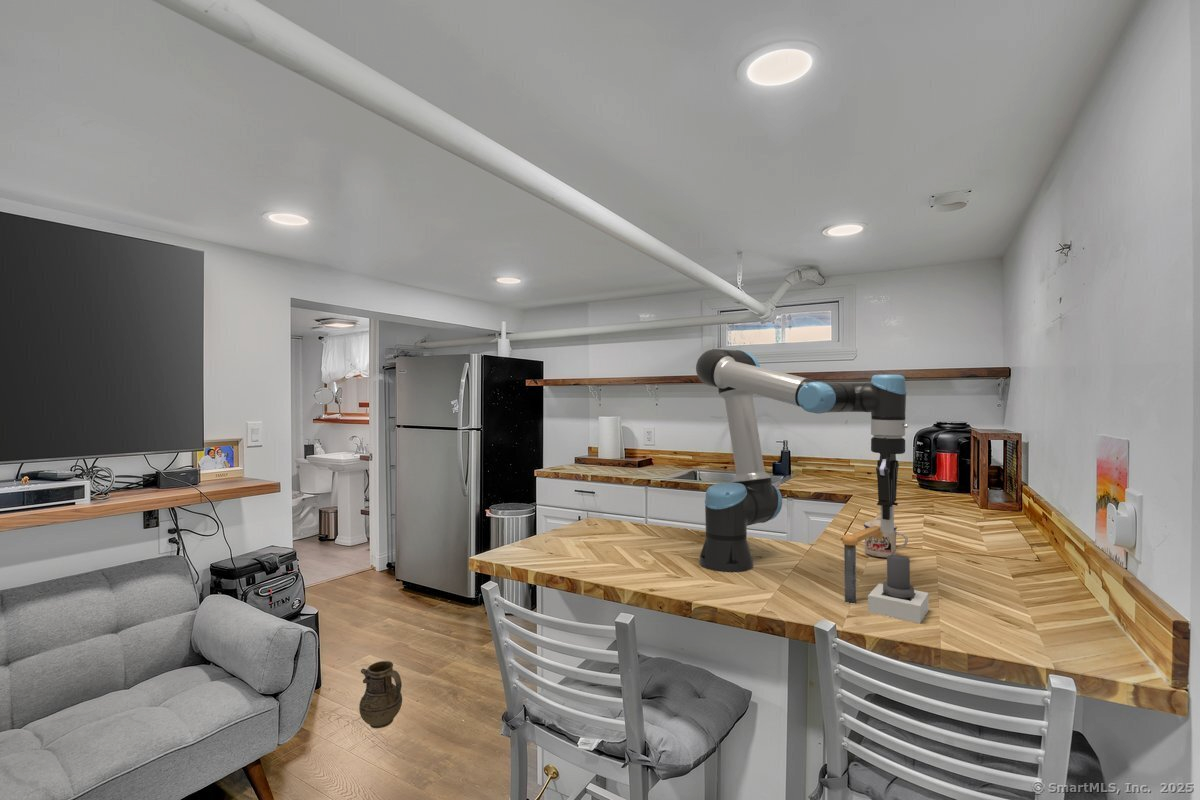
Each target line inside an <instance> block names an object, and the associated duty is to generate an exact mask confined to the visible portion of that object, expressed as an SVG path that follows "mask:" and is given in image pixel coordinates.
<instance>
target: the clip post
mask: <svg viewBox="0 0 1200 800" xmlns="http://www.w3.org/2000/svg"><path fill="white" fill-rule="evenodd" d="M843 545H844V546H843V548H844V549H843V550H844V552H843V553H844V554H843V555H844V562H843V563H844V564H843V565H844V603H846V602H849V603H848V604H850V603H855V602H856V603H857V567H856V566H857V561H856V560H857V557H856V555H857V553H856V551H857V545H845V544H843ZM856 603H855V604H856Z"/></svg>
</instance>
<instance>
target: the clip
mask: <svg viewBox="0 0 1200 800" xmlns="http://www.w3.org/2000/svg"><path fill="white" fill-rule="evenodd" d="M871 536H873V538H876V539H883V532H880V526H872V527H869V528H867V529H865V528H864V529H863V530H861V531H860V530H859V531H858V532H855V533H853V534H843V535H842V542H841V543H842V544H843V545H844V544H845V545H856V546H857V545H858V544H859V543H860V542H862V541H865V539H867V538H869V537H871Z"/></svg>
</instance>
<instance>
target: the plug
mask: <svg viewBox="0 0 1200 800" xmlns="http://www.w3.org/2000/svg"><path fill="white" fill-rule="evenodd" d="M910 561H911V559H910V558H909V557H907V556H905V555H904V556H903V555H897V554H896V555H889V556H887V557H886V581H885V582H884V583H882V584H883V592H884V593H885V594H887V596H889V597H894V598H899V599H904V600H909V601H910V598H911V597H914V590H915V588H914V586H912V585H911V576H910V575H911V570H910V569H911V567H910V566H911V565H910V564H911V563H910Z"/></svg>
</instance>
